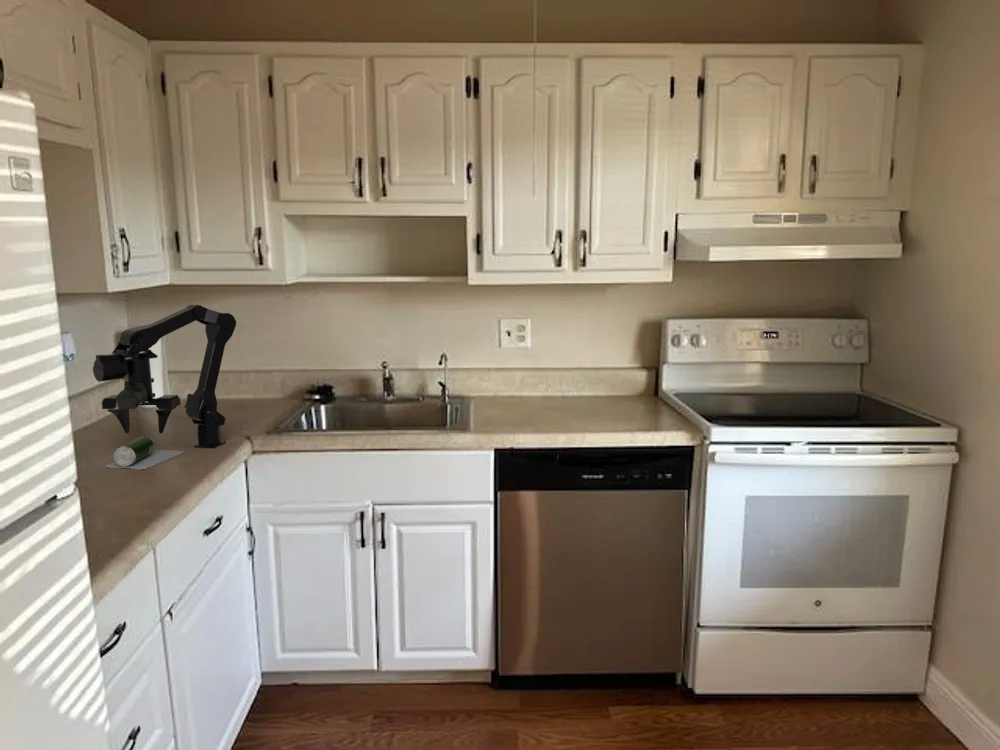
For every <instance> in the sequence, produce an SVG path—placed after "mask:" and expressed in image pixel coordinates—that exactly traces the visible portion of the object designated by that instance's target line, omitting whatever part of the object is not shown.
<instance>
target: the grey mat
mask: <svg viewBox="0 0 1000 750" xmlns="http://www.w3.org/2000/svg"><path fill="white" fill-rule="evenodd" d="M184 452H185V451H184V450H183V451H182V450H165V449H164V450H163V449H154V451H153V452H152V453H151V454H150V455H148V456H146V457H144V458H143V459H141V460H139V461H137V462H136V463H134V464H132V465H130V466H124V467H123V466H120V465H118V464H117V463H116V462H115V461H114V462H112V463H111V462H110V463H108V464H106V465H105V468H107V467H108V468H109V467H110V469H124V468H131V469H130V470H141V469H147V468H149V467H151V468H153V467H152V466H154V465H156V464H158V463H160V462H163V461H165V460H168V459H170V458H172V457H175V456H177V455H179V456H181V455H180V454H182V453H184ZM185 453H186V452H185ZM185 453H184V454H185ZM182 455H183V454H182ZM177 457H178V456H177ZM175 458H176V457H175ZM172 459H173V458H172ZM170 460H171V459H170ZM168 461H169V460H168ZM165 462H166V461H165ZM163 463H164V462H163ZM158 465H159V464H158ZM156 466H157V465H156ZM154 467H155V466H154ZM133 468H134V469H133ZM149 469H150V468H149ZM147 470H148V469H147Z"/></svg>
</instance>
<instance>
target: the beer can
mask: <svg viewBox="0 0 1000 750" xmlns="http://www.w3.org/2000/svg"><path fill="white" fill-rule="evenodd" d="M154 450H155V442H154V440H153V439H152V438H151V437H148V436H145V435H144V436H140V437H137V438H136V439H134V440H132V441H130V442H128V443H126V444H124V445H122V446H120V447H118V448H117V449H116V450H115V451H114V454H113V460H114V462H116V463H117V464H118V465H120V466H123V467H124V466H130V465H132V464H134V463H136V462H137V461H139V460H141V459H143V458H144V457H146V456H148V455H150V454H151V453H152V452H153V451H154Z"/></svg>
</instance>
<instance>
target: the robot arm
mask: <svg viewBox="0 0 1000 750" xmlns="http://www.w3.org/2000/svg"><path fill="white" fill-rule="evenodd" d="M194 322H197V323H200V324H202V325H205V329H204V330H205V335H206V339H207V343H206V348H205V352H204V358H203V359H202V361H203V362H202V365H201V370H200V375H199V380H198V384H197V388H196V390H195V391H194V392H193V394H192V393H188V394H187V395H186V403H185V404H184V406H183V407H184V408H185V414H186V415H187V417H188V418H190V420H191V422H192V423H193V425H197V443H196V444H194V448H208V449H210V448H212V449H215V448H216V447H219V446H221V445H223V444H225V443H227V441H226V440H222V433H221V426H224V425H225V423H226V416H224V415H222V414H221V413H220V412H219V411H218V399H217V396H216V388H217V385H218V384H217V383H218V380H219V374H220V370H221V365H222V361H223V357H224V353H225V347H226V344H227V343H228V342H229V340H230V339H231V338H232V336H233V334H234V332H235V329H236V326H237V320H236V318H235V316H234V315H233V314H232V313H229V312H219V311H216V310H213V309H210V308H207V307H205V306H203V305H200V304H188V305H187V306H186V307H185V308H182V309H180V310H178V311H176V312H174V313H172V314H169V315H167V316H165V317H163V318H161V319H158V320H157V321H153V322H152V323H148V324H145V325H139V326H135V327H134V326H133V327H132V328H127V329H125V330H123V331H122V332H121V333H120V338H119V341H118V342H117V345H116V346H115V348H114V349H113V351H112V352H111V353H110V354H96V355H95V360H94V361H93V367H92V373H93V376H94V379H95V380H96V381H97V382H106V381H107V382H108V381H114V380H115V381H116V380H122V379H124V378H125V377H126V381H124V388H123V390H121V391H119V393H118V394H114V395H113V394H112V395H110V396H107V397H104V398H103V399H102V400H101V409H102V410H106V411H107V412H108V413H112V414H113V416H115V417H116V419H117V420H118V422H119V423H120V425H121V428H122V429H123V431H124V433H125V434H129V433H130V428H131V426H130V425H131V424H130V423H131V422H130V421H131V420H130V410H135V409H137V408H138V407H139V406H155V407H156V408H158V409H156V410H155V412H156V414H157V421H158V422H157V423H158V424H157V425H158V432H159V434H163V433H164V431H165V428H166V425H167V422H168V419H169V418H170V417H169V416H170V415H171V413H172V411H173V410H174V409H176V408H177V407H179V406H180V405H181V397H180V396H179V395H178V394H164V395H162V396H159V397H157V398H156V393H155V392H153V383H154V382H155V378H154V377H153V378H152V371H151V359H157V358H158V355H157V354H156V353H154V351H152V350H151V348H152V347H153V346H155V345H156V344H157V343H158V342H159V341H160V339H162V338H163V337H165V336H167V335H169V334H171V333H173V332H175V331H178V330H179V329H181V328H183V327H185V326H187V325H190V324H192V323H194Z"/></svg>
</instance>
